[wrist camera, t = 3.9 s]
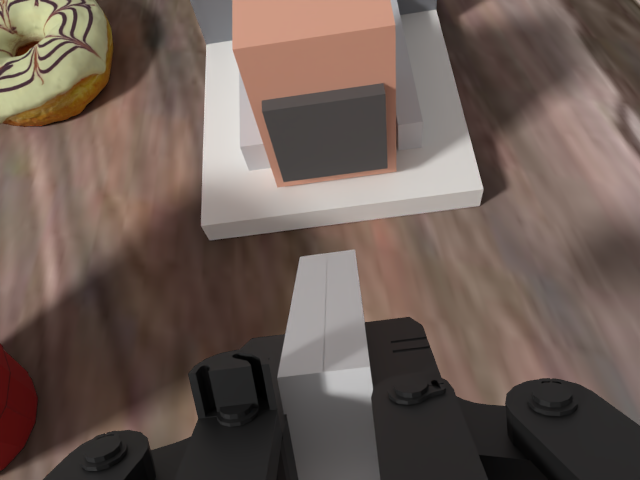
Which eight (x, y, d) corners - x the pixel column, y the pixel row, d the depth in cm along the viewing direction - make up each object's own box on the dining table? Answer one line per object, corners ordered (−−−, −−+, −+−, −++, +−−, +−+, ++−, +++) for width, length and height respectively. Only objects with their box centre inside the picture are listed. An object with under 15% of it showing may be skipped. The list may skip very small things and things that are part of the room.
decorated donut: (-7, 167, 35) (-50, 126, 31) (-46, 65, 40) (-87, 20, 36) (147, 87, 36) (122, 40, 33) (91, -1, 41) (65, -49, 38)
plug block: (383, 96, 31) (377, -60, 23) (398, 181, 28) (397, 36, 20) (273, 112, 31) (232, -37, 24) (277, 197, 29) (232, 61, 21)
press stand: (426, -3, 37) (435, -175, 28) (479, 206, 29) (514, 55, 20) (214, 30, 38) (159, -127, 29) (209, 240, 30) (132, 110, 21)
